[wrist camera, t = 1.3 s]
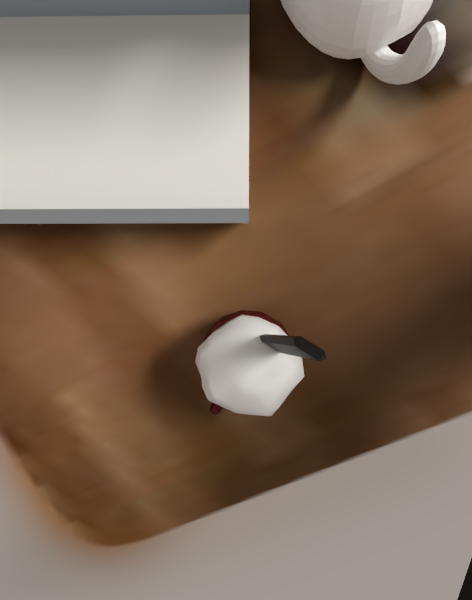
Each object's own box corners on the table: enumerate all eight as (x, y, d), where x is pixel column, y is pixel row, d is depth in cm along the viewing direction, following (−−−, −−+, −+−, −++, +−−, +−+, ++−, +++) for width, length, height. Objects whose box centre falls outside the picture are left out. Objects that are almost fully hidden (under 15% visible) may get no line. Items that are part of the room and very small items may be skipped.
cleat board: (248, -5, 27) (252, -155, 15) (248, 218, 30) (251, 238, 18) (-54, -2, 27) (-280, -146, 15) (-23, 219, 30) (-191, 239, 18)
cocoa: (226, 403, 34) (213, 529, 22) (173, 339, 32) (130, 438, 21) (334, 334, 32) (382, 433, 20) (284, 263, 30) (305, 325, 19)
